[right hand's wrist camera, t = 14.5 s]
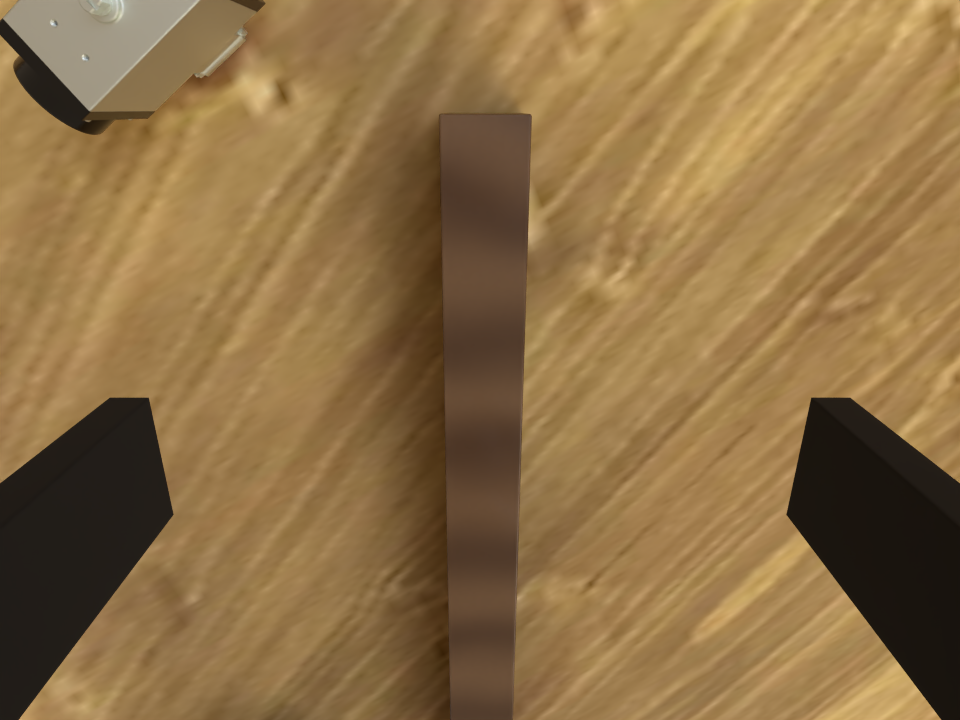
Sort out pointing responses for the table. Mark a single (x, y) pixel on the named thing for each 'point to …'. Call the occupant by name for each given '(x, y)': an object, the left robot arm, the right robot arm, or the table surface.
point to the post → (483, 396)
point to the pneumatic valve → (118, 52)
